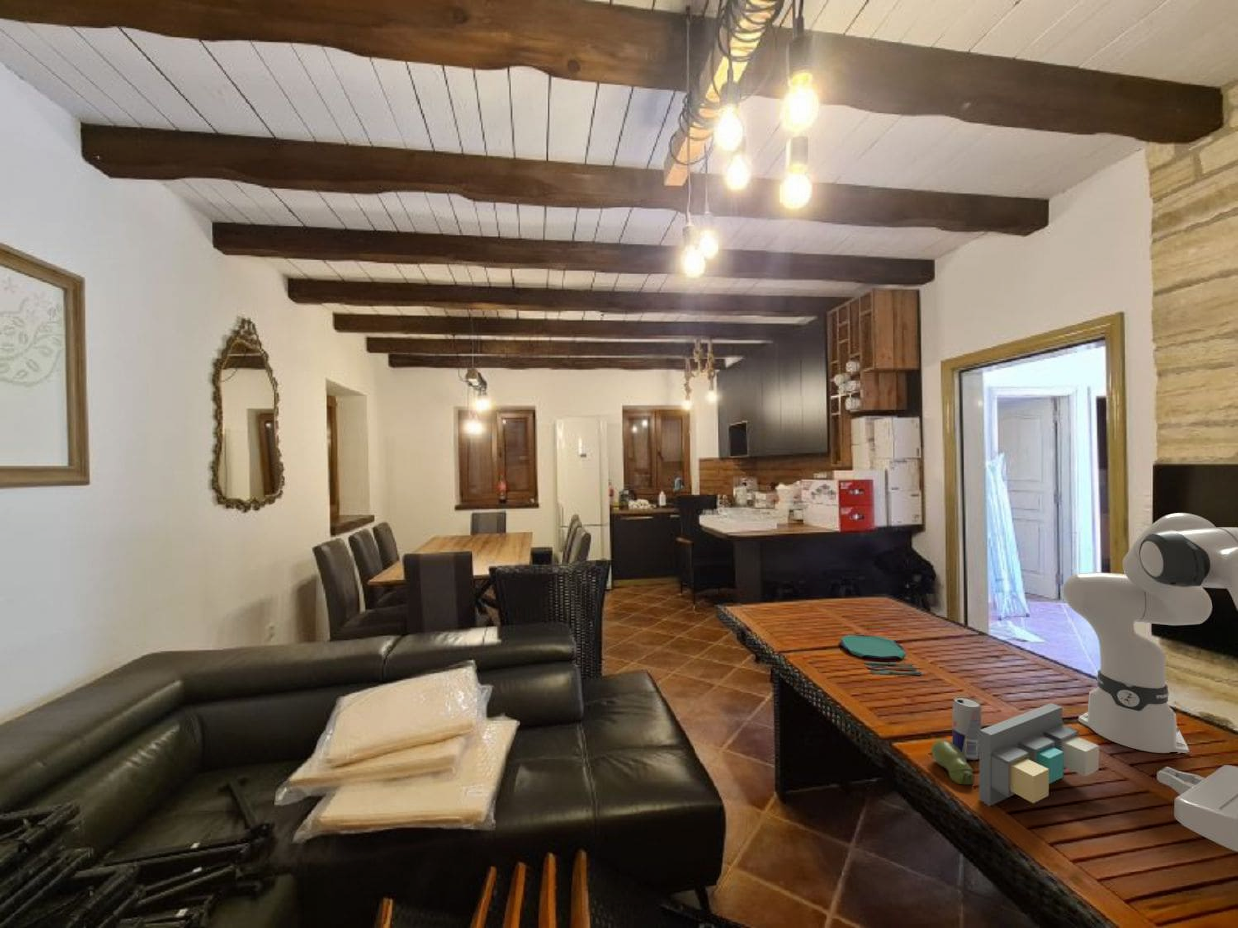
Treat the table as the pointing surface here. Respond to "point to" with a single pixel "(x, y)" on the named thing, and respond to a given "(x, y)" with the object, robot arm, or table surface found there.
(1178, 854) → the table surface
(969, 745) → the energy drink
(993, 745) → the control panel
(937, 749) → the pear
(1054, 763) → the button teal
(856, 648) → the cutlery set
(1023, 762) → the button mustard
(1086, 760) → the button cream
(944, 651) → the table surface
